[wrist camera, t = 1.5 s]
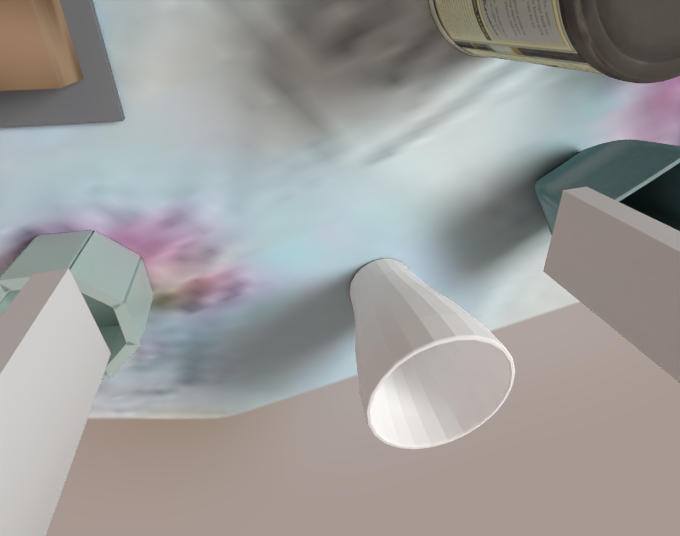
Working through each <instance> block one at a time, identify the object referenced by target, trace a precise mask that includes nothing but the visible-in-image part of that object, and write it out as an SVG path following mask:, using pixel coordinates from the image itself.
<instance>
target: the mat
mask: <svg viewBox="0 0 680 536" xmlns="http://www.w3.org/2000/svg"><path fill="white" fill-rule="evenodd" d="M60 4H61V7H62V10H63V13H64V16H65V20H66V23H67V26H68V29H69V33H70V36H71V39H72V42H73V45H74V49H75V52H76V55H77V58H78V62H79V65H80V68H81V71H82V74H83V78H84V79H82V80H79V81H77V82H74V83H72V84H70V85H67V86H65V87H62V88H56V89H32V90H7V91H0V127H16V126H34V125H53V124H71V123H89V122H107V121H123V120H124V119H125V117H124V114H123V110H122V106H121V103H120V99H119V95H118V92H117V88H116V85H115V81H114V77H113V74H112V70H111V66H110V63H109V59H108V55H107V52H106V48H105V45H104V41H103V37H102V34H101V30H100V26H99V23H98V19H97V16H96V12H95V8H94V5H93V1H92V0H60Z"/></svg>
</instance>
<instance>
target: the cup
mask: <svg viewBox="0 0 680 536" xmlns="http://www.w3.org/2000/svg"><path fill="white" fill-rule="evenodd" d="M350 298H351V302H352V306H353V310H354V314H355V352H356V361H357V371H358V380H359V390H360V396H361V401H362V404H363V409H364V413H365V417H366V421H367V424H368V426H369V427H370V429H371V431H372V433H373V434H374V435H375V436H376V437H378V438H379V439H380V440H382V441H383V442H384V443H386V444H389V445H392V446H395V447H398V448H408V449H420V448H430V447H434V446H438V445H441V444H445V443H449V442H451V441H453V440H455V439H458V438H460V437H462V436H464V435H466V434H468V433H469V432H471V431H472V430H474V429H476V428H477V427H479V426H481V425H482V424H483V423H484V422H485V421H486V420H488V419H489V418H490V417H491V416H492V415H493V414H495V412H496V411H497V410H498V409H499V407H500V406H501V405H502V404H503V403H504V401H505V400H506V398H507V396H508V394H509V392H510V390H511V388H512V385H513V380H514V375H515V369H514V363H513V358H512V356H511V355H510V353H509V352H508V351H507V349H506V348H505V346H504V345H503V344H502V343H501V342H500V341H499V340H498V339H497V338H496V337H495V336H494V335H493V334H492V333H491V332H490V331H489V330H488V329H487V328H486V327H485V326H484V325H483V324H481V323H480V322H479V321H477V320H476V319H475V318H474V317H472V316H471V315H470V314H468V313H467V312H466V311H465V310H463V309H462V308H461V307H459V306H458V305H457V304H455V303H454V302H452V301H451V300H449V299H448V298H446V297H445V296H443V295H441V294H440V293H438V292H437V291H435V290H433V289H432V288H430V287H429V286H428V285H426V284H425V283H424V282H422V281H421V280H419V279H418V278H417V277H416V276H415V275H414V274H413V273H412V272H411V271H410V270H409V269H408V268H407V266H406V265H404V264H403V263H401V262H400V261H397V260H394V259H380V260H375V261H373V262H371V263H368V264H367V265H365V266H364V267H362V268H361V269H360V270H359V271H358V272H357V273H356V275H355V276H354V278H353V280H352V282H351V285H350Z"/></svg>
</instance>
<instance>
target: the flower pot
mask: <svg viewBox="0 0 680 536" xmlns="http://www.w3.org/2000/svg"><path fill="white" fill-rule="evenodd" d="M581 187H589V188H591V189H593V190H595V191H597V192H599V193H601V194H603V195H605V196H607V197H609V198H612V199H614V200H616V201H618V202H620V203H622V204H624V205H626V206H628V207H630V208H632V209H634V210H636V211H639V212H641V213H643V214H645V215H647V216H649V217H651V218H653V219H655V220H657V221H659V222H661V223H664V224H666V225H668V226H670V227H672V228H674V229H676V230H678V231H680V146H675V145H669V144H662V143H655V142H648V141H640V140H618V141H612V142H607V143H603V144H599V145H596V146H593V147H590V148H588V149H585V150H583V151H581V152H579V153H578V154H576V155H575V156H573V157H572V158H570V159H569V160H567V161H566V162H564V163H563V164H561V165H560V166H558V167H557V168H555V169H554V170H552V171H551V172H549V173H548V174H546V175H545V176H543V177H542V178H540V179H539V180H538V181H537V182H536V183H535V191H536V194H537V197H538V199H539V202H540V205H541V207H542V210H543V212H544V215H545V218H546V221H547V223H548V226H549V229H550V232H551V235H552V234H553V229H554V225H555V221H556V217H557V213H558V209H559V205H560V201H561V197H562V192H563V190H568V189H574V188H581Z"/></svg>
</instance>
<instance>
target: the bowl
mask: <svg viewBox="0 0 680 536" xmlns="http://www.w3.org/2000/svg"><path fill="white" fill-rule="evenodd" d="M66 268H69V270H70V272H71V274H72V276H73V278H74V280H75V282H76V284H77V286H78V288H79V290H80V292H81V294H82V296H83V298H84V300H85V302H86V304H87V306H88V308H89V310H90V312H91V314H92V316H93V318H94V320H95V322H96V324H97V326H98V328H99V330H100V332H101V334H102V336H103V338H104V340H105V342H106V344H107V346H108V348H109V350H110V352H111V355H110V357H109V360H108V363H107V366H106V369H105V371H104V374H103V377H102V380H104V379H109V378H110V377H113V376H114V374H115V373H116V372H117V371H118V370H119V369H120V368H121V366H122V365H123V364H124V363H125V362H126V361H127V360H128V358H129V357H130V356H131V355H132V354H133V353H134V352H135V350H136V349H137V348H138V347H139V346H140V342H141V338H142V335H143V331H144V328H145V324H146V320H147V317H148V313H149V310H150V306H151V303H152V299H153V292H152V289H151V285H150V282H149V279H148V275H147V272H146V269H145V266H144V262H143V259H142V258H140V256H139V255H138V254H136V253H134V252H132V251H131V250H129V249H127V248H125V247H123V246H122V245H120V244H118V243H116V242H115V241H113V240H111V239H109V238H107V237H106V236H104V235H102V234H100V233H98V232H97V231H94V233H93V232H92V230H86V231H76V232H65V233H55V234H45V235H38V236H37V237H35V238H34V239H33V240H32V241H31V242H30V243H29V245H28V246H27V247H26V248H25V249H24V250H23V251H22V252H21V254H20V255H19V256H18V257H17V258H16V259H15V260H14V261H13V263H12V264H11V265H10V266H9V267H8V268H7V269H6V270H5V272H4V273H3V274H2V275H1V276H0V316H1V315H2V314H3V313H4V311H5V310H6V309H7V307H8V306H9V305H10V303H11V302H12V301H13V300H14V298H15V297H16V296H17V294H18V293H19V292H20V291H21V289H22V288H23V287H24V285H25V284H26V283H27V281H28V280H29V279H30V278H31V276H32V275H33V274H34V273H41V272H47V271H53V270H60V269H66Z"/></svg>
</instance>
